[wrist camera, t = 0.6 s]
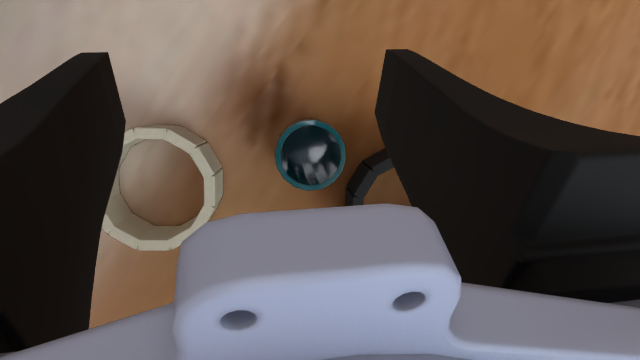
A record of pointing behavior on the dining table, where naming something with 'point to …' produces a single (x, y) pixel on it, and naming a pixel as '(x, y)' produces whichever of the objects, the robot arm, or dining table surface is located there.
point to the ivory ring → (142, 232)
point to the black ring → (366, 177)
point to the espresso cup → (310, 154)
